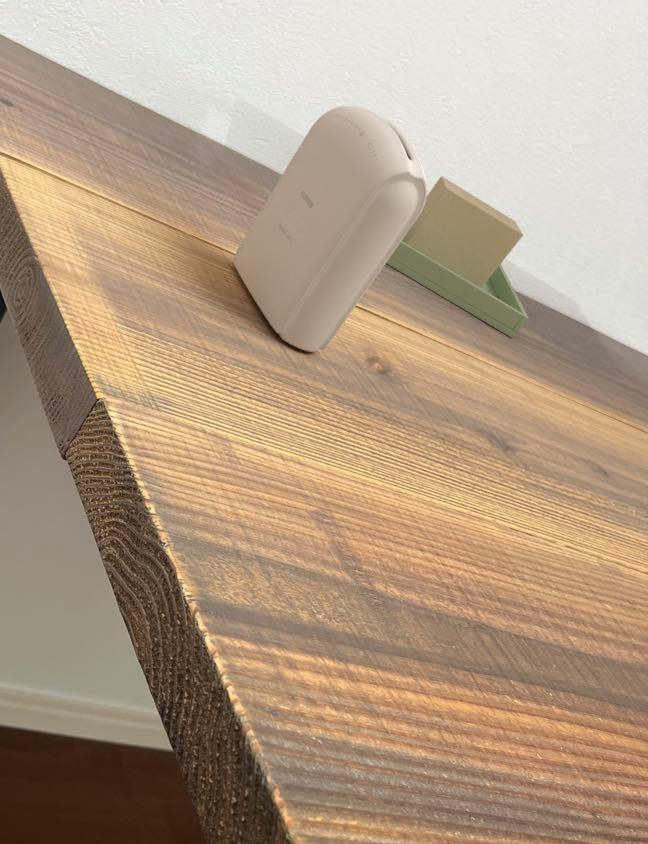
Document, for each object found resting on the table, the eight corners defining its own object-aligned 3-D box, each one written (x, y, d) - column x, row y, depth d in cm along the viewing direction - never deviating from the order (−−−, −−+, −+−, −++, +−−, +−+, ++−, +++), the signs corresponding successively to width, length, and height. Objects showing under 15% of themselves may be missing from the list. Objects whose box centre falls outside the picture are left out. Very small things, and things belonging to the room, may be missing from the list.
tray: (485, 279, 101) (499, 261, 100) (512, 338, 89) (529, 318, 87) (364, 206, 99) (378, 187, 98) (375, 257, 87) (390, 235, 85)
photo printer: (221, 255, 67) (331, 75, 61) (273, 277, 69) (385, 105, 63) (271, 342, 60) (401, 148, 53) (327, 363, 62) (461, 179, 55)
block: (399, 234, 94) (441, 175, 91) (471, 277, 96) (515, 221, 92) (403, 248, 91) (446, 187, 88) (478, 292, 92) (523, 234, 89)
